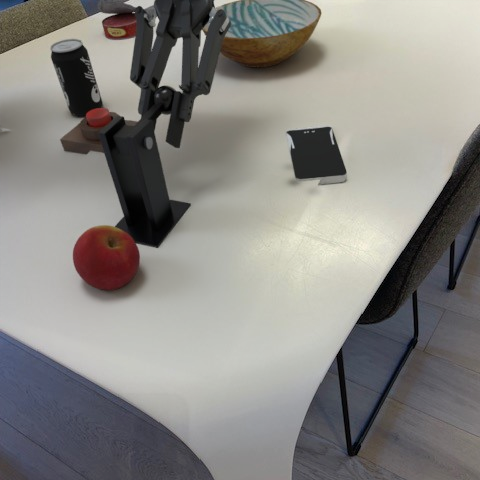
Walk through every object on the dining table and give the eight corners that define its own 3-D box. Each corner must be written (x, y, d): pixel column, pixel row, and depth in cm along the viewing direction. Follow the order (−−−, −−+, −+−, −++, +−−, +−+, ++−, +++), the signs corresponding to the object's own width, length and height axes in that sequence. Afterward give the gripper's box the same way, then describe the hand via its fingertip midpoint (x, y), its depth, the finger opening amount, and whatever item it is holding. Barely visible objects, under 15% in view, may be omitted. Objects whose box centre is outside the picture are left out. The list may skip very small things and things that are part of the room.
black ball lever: (163, 105, 69) (157, 79, 66) (186, 107, 68) (181, 81, 65) (114, 157, 62) (105, 130, 59) (139, 161, 60) (131, 134, 58)
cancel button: (84, 127, 84) (81, 117, 83) (97, 116, 87) (94, 106, 85) (103, 129, 83) (100, 119, 82) (116, 118, 85) (113, 108, 84)
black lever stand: (144, 201, 74) (118, 104, 63) (192, 210, 72) (173, 110, 61) (109, 242, 68) (73, 142, 57) (159, 253, 66) (132, 151, 55)
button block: (64, 150, 87) (56, 129, 84) (92, 126, 92) (86, 105, 89) (121, 160, 83) (115, 137, 80) (148, 134, 88) (142, 112, 85)
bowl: (186, 78, 103) (180, 36, 97) (227, 34, 119) (223, -5, 113) (304, 85, 96) (304, 40, 90) (330, 37, 112) (333, -4, 106)
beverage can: (93, 119, 94) (72, 52, 85) (64, 117, 96) (40, 51, 87) (109, 103, 98) (91, 38, 89) (81, 101, 100) (60, 37, 91)
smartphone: (295, 179, 73) (285, 129, 82) (295, 187, 74) (285, 137, 83) (347, 174, 72) (331, 125, 82) (347, 182, 73) (330, 132, 83)
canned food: (109, 54, 129) (86, 14, 124) (139, 38, 132) (118, -2, 127) (122, 41, 119) (98, -3, 115) (155, 24, 122) (133, -19, 118)
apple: (102, 313, 59) (80, 263, 53) (75, 278, 64) (53, 229, 58) (156, 284, 62) (142, 234, 56) (127, 253, 66) (111, 203, 60)
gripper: (261, -20, 65) (224, 158, 68) (151, -22, 70) (121, 144, 73) (242, -60, 58) (202, 141, 60) (122, -58, 63) (90, 126, 66)
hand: (158, 142), depth 67 cm, fingers closed on black ball lever, 4 cm apart
